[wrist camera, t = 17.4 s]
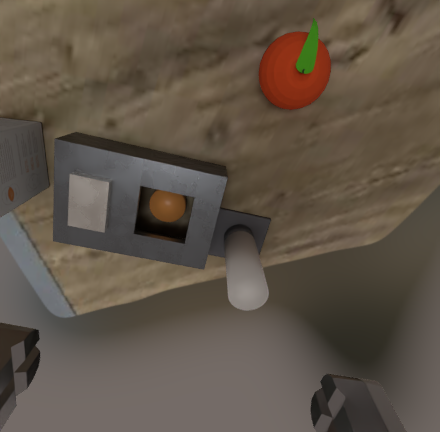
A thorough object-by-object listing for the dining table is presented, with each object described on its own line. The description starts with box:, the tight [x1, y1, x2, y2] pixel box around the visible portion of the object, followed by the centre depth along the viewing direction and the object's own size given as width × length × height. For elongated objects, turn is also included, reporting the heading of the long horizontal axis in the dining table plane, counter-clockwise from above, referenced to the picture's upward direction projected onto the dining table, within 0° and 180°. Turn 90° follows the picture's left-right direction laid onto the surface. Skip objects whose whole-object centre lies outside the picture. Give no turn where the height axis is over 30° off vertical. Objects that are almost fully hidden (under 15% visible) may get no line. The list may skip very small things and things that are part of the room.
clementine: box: [259, 18, 331, 110], centre depth 29 cm, size 8×7×7 cm
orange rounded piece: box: [149, 189, 186, 222], centre depth 37 cm, size 4×4×2 cm
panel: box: [53, 132, 228, 269], centre depth 35 cm, size 18×12×6 cm, turn 77°
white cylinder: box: [224, 224, 269, 310], centre depth 34 cm, size 4×4×12 cm
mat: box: [208, 208, 271, 258], centre depth 40 cm, size 7×7×1 cm
